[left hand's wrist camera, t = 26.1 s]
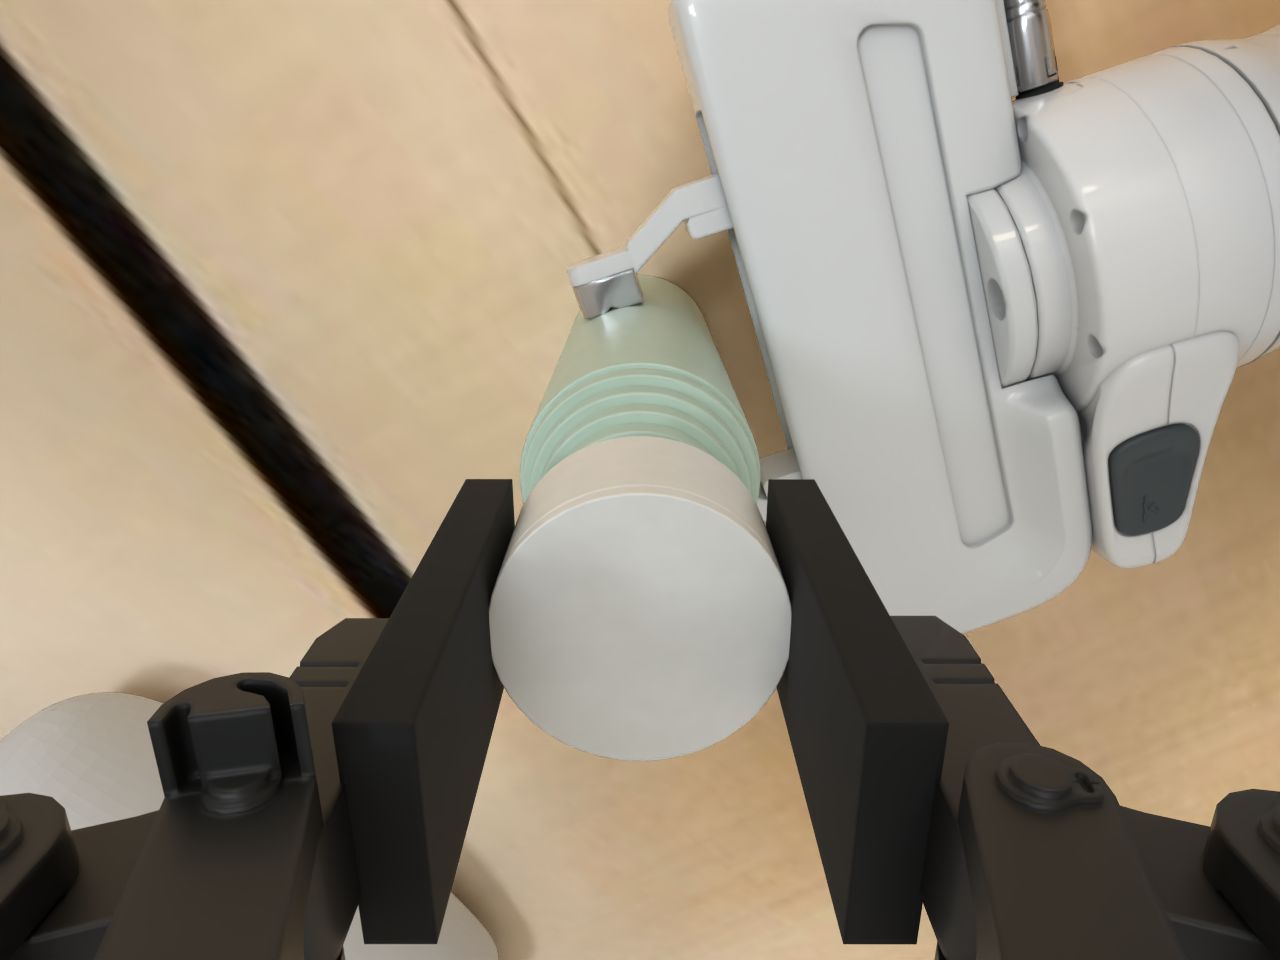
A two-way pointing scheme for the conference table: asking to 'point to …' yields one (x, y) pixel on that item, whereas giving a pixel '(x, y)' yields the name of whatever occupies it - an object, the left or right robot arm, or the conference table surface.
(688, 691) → the cap
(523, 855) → the conference table surface
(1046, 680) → the conference table surface
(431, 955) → the projector
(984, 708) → the left robot arm
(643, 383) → the bottle
